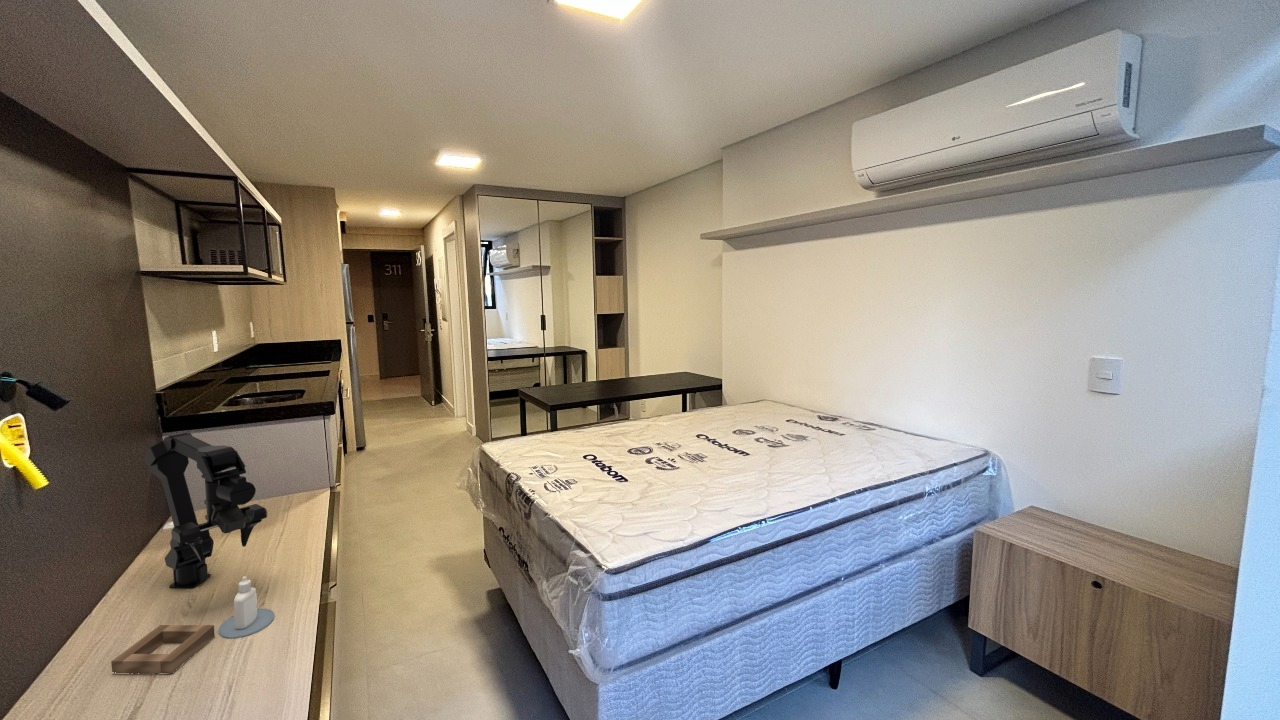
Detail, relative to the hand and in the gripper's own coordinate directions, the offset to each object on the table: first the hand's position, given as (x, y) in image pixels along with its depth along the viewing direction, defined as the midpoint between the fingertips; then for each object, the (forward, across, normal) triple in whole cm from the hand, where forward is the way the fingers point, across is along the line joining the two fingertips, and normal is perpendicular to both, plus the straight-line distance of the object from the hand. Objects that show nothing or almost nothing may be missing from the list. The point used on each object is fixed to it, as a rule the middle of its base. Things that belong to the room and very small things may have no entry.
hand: (223, 553), depth 134 cm
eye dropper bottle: (+13, -2, -16) cm, 20 cm away
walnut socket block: (+13, -16, -13) cm, 25 cm away
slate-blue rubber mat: (+13, -2, -16) cm, 20 cm away
